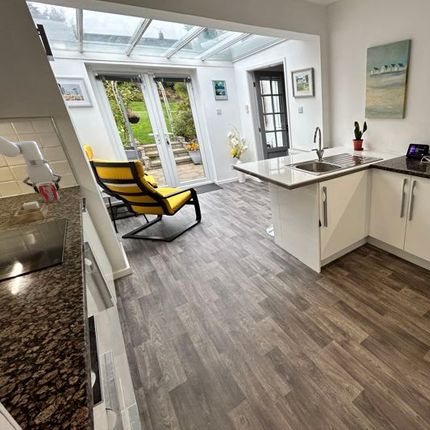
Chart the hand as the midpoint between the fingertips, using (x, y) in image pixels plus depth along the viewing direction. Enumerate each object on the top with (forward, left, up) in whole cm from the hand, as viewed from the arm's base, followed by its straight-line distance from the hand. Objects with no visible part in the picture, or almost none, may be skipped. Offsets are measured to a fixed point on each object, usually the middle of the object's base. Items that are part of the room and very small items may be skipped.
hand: (48, 191), depth 160 cm
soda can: (0, 0, -8) cm, 8 cm away
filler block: (-6, -23, -7) cm, 24 cm away
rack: (-6, -27, -7) cm, 29 cm away
